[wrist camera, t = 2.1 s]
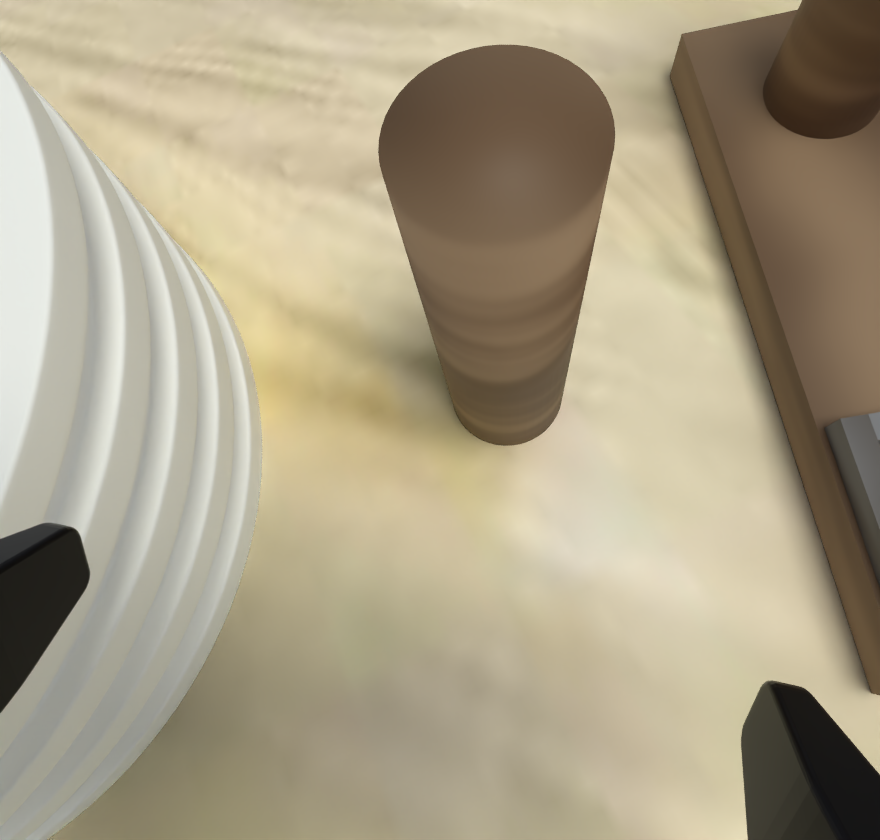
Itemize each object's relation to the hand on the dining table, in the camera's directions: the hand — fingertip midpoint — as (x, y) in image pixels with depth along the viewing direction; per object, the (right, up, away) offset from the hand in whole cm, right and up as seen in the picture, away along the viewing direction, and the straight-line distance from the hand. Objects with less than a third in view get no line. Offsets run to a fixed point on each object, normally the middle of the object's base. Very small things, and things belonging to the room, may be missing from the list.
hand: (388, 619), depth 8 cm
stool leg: (+3, +4, +15) cm, 16 cm away
